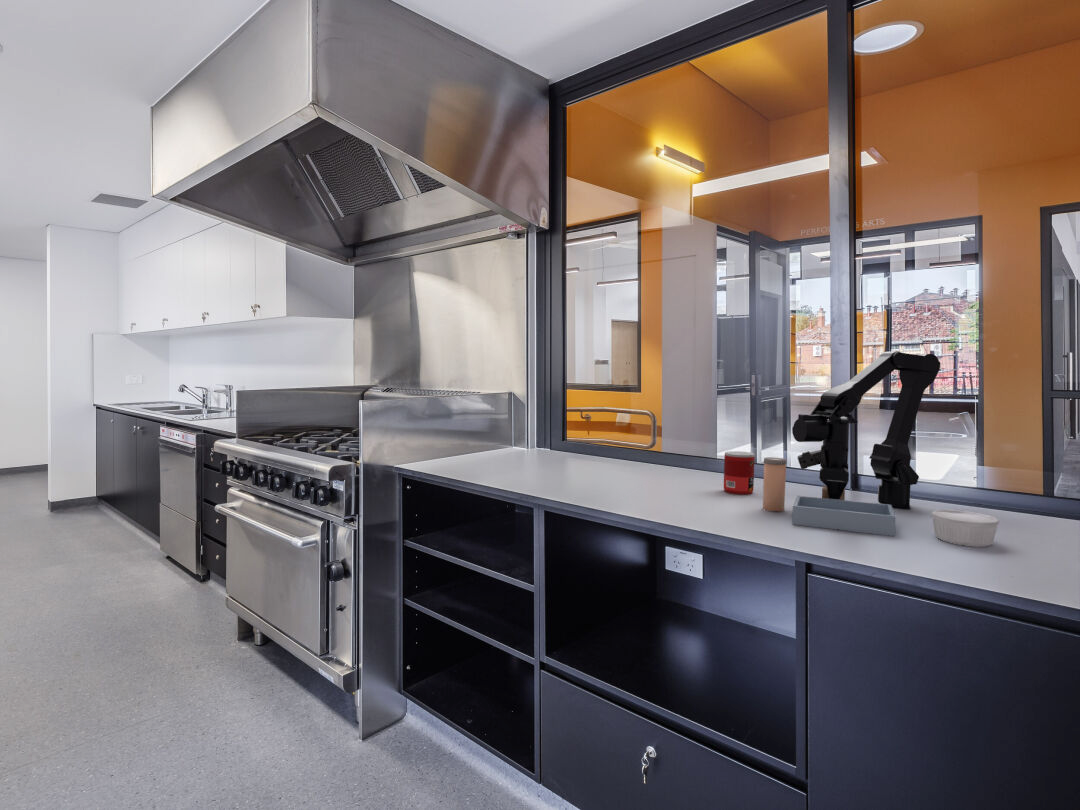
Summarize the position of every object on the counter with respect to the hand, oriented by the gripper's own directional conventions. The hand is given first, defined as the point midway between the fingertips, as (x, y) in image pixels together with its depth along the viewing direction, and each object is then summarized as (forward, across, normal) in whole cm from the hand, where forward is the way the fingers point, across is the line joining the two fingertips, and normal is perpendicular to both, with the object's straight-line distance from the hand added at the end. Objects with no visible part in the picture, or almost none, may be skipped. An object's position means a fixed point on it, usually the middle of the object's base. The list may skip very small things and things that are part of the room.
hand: (833, 503), depth 148 cm
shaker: (+1, +9, -13) cm, 16 cm away
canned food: (+1, -9, -24) cm, 26 cm away
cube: (+1, 0, 0) cm, 1 cm away
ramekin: (+1, +19, +24) cm, 31 cm away
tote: (+1, +16, +2) cm, 16 cm away
